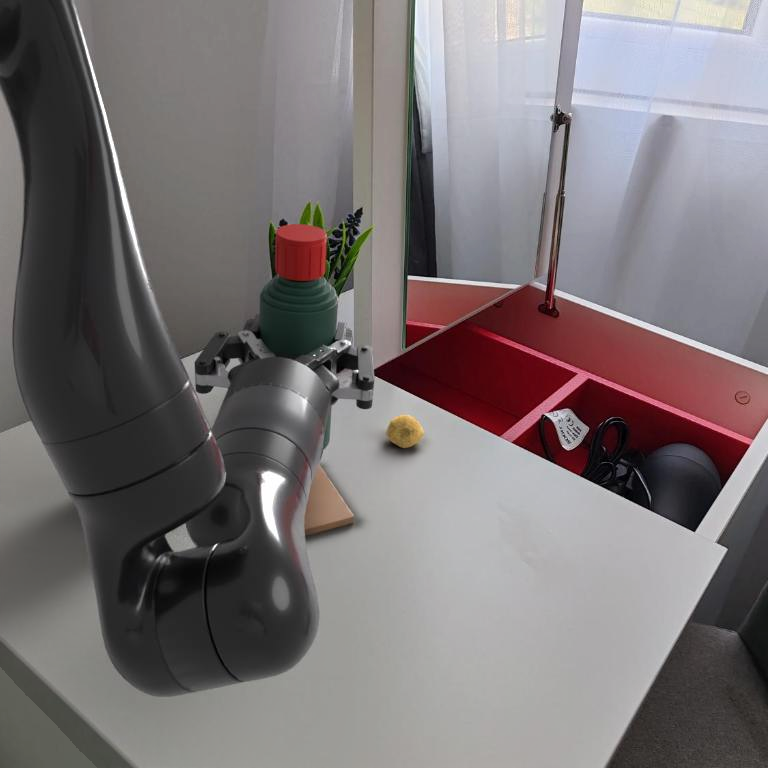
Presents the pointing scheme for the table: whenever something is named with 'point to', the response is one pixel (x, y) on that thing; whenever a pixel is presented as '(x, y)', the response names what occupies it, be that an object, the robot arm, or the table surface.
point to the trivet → (325, 506)
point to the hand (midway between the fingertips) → (301, 328)
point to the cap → (300, 252)
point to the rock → (404, 431)
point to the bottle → (298, 318)
